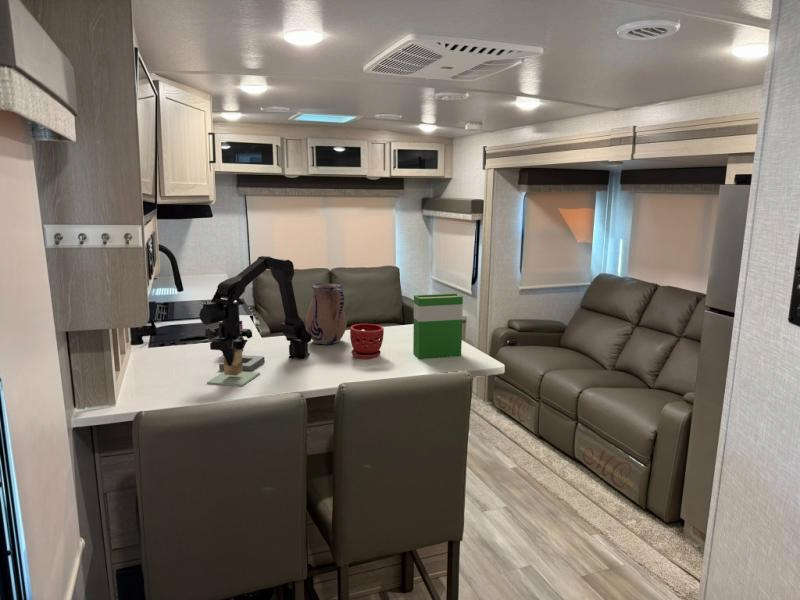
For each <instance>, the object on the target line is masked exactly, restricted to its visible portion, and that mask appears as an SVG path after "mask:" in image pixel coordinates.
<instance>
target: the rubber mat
mask: <svg viewBox="0 0 800 600" xmlns="http://www.w3.org/2000/svg"><path fill="white" fill-rule="evenodd" d="M260 375H261V372H258V371H251V372H244V371H243V372H241V373H240V374H238V375H237V376H234V375H224V371H222V372H221V373H220V374H218V375H216V376H214V377H213V378H211V379H210V380H208V381H206V385H217V386H229V387H231V386H232V387H233V386H234V387H244V386H245V385H247V384H248V383H250V382H251V381H253V380H255V378H257V377H258V376H260Z"/></svg>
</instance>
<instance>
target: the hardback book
mask: <svg viewBox="0 0 800 600" xmlns="http://www.w3.org/2000/svg"><path fill="white" fill-rule="evenodd" d="M463 300H464V296H458V293H440V294H439V293H438V294H436V293H435V294H418V295H417V294H416V295H415V294H414V295H413V336H412V337H413V341H412V342H413V343H412V344H413V345H412V346H413V349H412V350H413V351H412V353H413V355H414V357H415V358H416V359H418V360H429V359H431V360H432V359H444V358H456V357H457V358H458V357H459V358H460V357H462V342H463V339H462V337H463V335H462V334H463V304H464V303H463V302H464V301H463Z"/></svg>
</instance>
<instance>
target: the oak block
mask: <svg viewBox="0 0 800 600" xmlns="http://www.w3.org/2000/svg"><path fill="white" fill-rule="evenodd" d="M222 355H223V357H222V359H223V362H224V370H223V372H224V375H234V376H237V375H238V374H240V373H241V372H243V365H242V355H243V351H242V349H236V350H235V354H234V358H233V362H232V365H231V366H229V365H228V364H227V361H226V359H225V357H224V354H223V353H222Z"/></svg>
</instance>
